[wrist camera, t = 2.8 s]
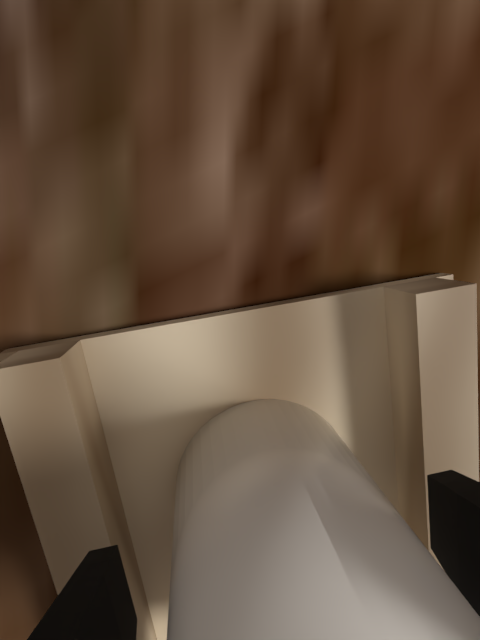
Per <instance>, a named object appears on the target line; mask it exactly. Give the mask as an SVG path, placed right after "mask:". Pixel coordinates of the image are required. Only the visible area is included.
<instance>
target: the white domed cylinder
mask: <svg viewBox="0 0 480 640" xmlns="http://www.w3.org/2000/svg"><path fill="white" fill-rule="evenodd" d="M167 640H480V617H479V615H478V614H477V613H476V612H475V610H474V609H473V608H472V606H471V605H470V604H469V602H468V601H467V600H466V599H465V597H464V596H463V595H462V593H461V592H460V591H459V590H458V588H457V587H456V586H455V584H454V583H453V582H452V581H451V579H450V578H449V577H448V575H447V574H446V573H445V572H444V570H443V569H442V568H441V566H440V565H439V564H438V562H437V561H436V560H435V559H434V557H433V556H432V555H431V553H430V552H429V551H428V550H427V548H426V547H425V546H424V544H423V543H422V542H421V541H420V539H419V538H418V537H417V535H416V534H415V533H414V532H413V530H412V529H411V528H410V526H409V525H408V524H407V523H406V521H405V520H404V519H403V517H402V516H401V515H400V513H399V512H398V511H397V510H396V508H395V507H394V506H393V504H392V503H391V502H390V501H389V499H388V498H387V497H386V495H385V494H384V493H383V492H382V490H381V489H380V488H379V486H378V485H377V484H376V483H375V481H374V480H373V479H372V477H371V476H370V475H369V474H368V472H367V471H366V470H365V468H364V467H363V466H362V464H361V463H360V462H359V461H358V459H357V458H356V457H355V455H354V454H353V453H352V452H351V450H350V449H349V448H348V446H347V445H346V444H345V443H344V441H343V440H342V439H341V437H340V436H339V435H338V434H337V432H336V431H335V430H334V428H333V427H332V426H331V425H330V424H329V423H328V422H327V421H326V420H325V419H324V418H323V417H322V416H320V415H319V414H318V413H316V412H315V411H313V410H311V409H310V408H308V407H305V406H303V405H301V404H298V403H294V402H291V401H287V400H278V399H261V400H254V401H249V402H245V403H241V404H238V405H236V406H233V407H231V408H228V409H227V410H225V411H223V412H221V413H219V414H218V415H216V416H215V417H213V418H212V419H211V420H209V421H208V422H207V423H206V424H205V425H204V426H202V427H201V428H200V429H199V431H198V432H197V433H196V434H195V435H194V436H193V438H192V439H191V441H190V442H189V444H188V445H187V447H186V449H185V451H184V453H183V455H182V457H181V460H180V463H179V467H178V472H177V478H176V493H175V509H174V526H173V542H172V559H171V575H170V592H169V609H168V625H167Z"/></svg>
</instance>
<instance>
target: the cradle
mask: <svg viewBox="0 0 480 640" xmlns="http://www.w3.org/2000/svg"><path fill="white" fill-rule="evenodd" d="M261 399H278V400H287V401H291V402H294V403H298V404H301V405H303V406H305V407H308V408H310V409H311V410H313V411H315V412H316V413H318V414H319V415H320V416H322V417H323V418H324V419H325V420H326V421H327V422H328V423H329V424H330V425H331V426H332V427H333V428H334V430H335V431H336V432H337V434H338V435H339V436H340V437H341V439H342V440H343V441H344V443H345V444H346V445H347V446H348V448H349V449H350V450H351V452H352V453H353V454H354V455H355V457H356V458H357V459H358V461H359V462H360V463H361V464H362V466H363V467H364V468H365V470H366V471H367V472H368V474H369V475H370V476H371V477H372V479H373V480H374V481H375V483H376V484H377V485H378V486H379V488H380V489H381V490H382V492H383V493H384V494H385V495H386V497H387V498H388V499H389V501H390V502H391V503H392V504H393V506H394V507H395V508H396V510H397V511H398V512H399V513H400V515H401V516H402V517H403V519H404V520H405V521H406V523H407V524H408V525H409V526H410V528H411V529H412V530H413V532H414V533H415V534H416V535H417V537H418V538H419V539H420V541H421V542H422V543H423V544H424V546H425V547H426V548H427V550H428V551H429V552H430V553H431V555H432V556H433V557H434V559H435V560H436V561H437V562H438V564H439V565H440V566H441V564H440V563H439V561H438V559H437V558H436V556H435V554H434V553H433V551H432V549H431V545H430V524H429V503H428V482H427V475H430V474H434V473H439V472H443V471H448V470H453V471H456V472H458V473H460V474H463V475H465V476H467V477H469V478H471V479H473V480H476V481H478V482H479V442H478V367H477V292H476V283H470V282H463V281H456V280H453V274H445V273H439V274H433V275H427V276H421V277H416V278H410V279H404V280H398V281H393V282H387V283H381V284H376V285H370V286H364V287H358V288H353V289H347V290H341V291H335V292H330V293H324V294H318V295H313V296H307V297H301V298H295V299H290V300H284V301H278V302H273V303H267V304H261V305H255V306H250V307H244V308H238V309H232V310H227V311H221V312H215V313H210V314H204V315H198V316H192V317H187V318H181V319H175V320H169V321H164V322H158V323H152V324H147V325H141V326H135V327H129V328H124V329H118V330H112V331H106V332H101V333H95V334H89V335H84V336H78V337H72V338H66V339H61V340H55V341H49V342H44V343H38V344H32V345H26V346H21V347H15V348H9V349H6V350H4V351H2V352H1V353H0V417H1V420H2V423H3V426H4V430H5V433H6V436H7V439H8V442H9V445H10V448H11V451H12V455H13V458H14V461H15V464H16V467H17V470H18V473H19V476H20V479H21V483H22V486H23V489H24V492H25V495H26V498H27V501H28V504H29V507H30V511H31V514H32V517H33V520H34V523H35V526H36V529H37V532H38V535H39V539H40V542H41V545H42V548H43V551H44V554H45V557H46V560H47V563H48V567H49V570H50V573H51V576H52V579H53V582H54V585H55V588H56V592H57V595H59V593H60V592H61V591H62V589H63V588H64V586H65V585H66V583H67V582H68V580H69V579H70V577H71V576H72V575H73V573H74V572H75V570H76V569H77V567H78V566H79V564H80V563H81V562H82V560H83V559H84V557H85V556H86V555H87V553H88V552H89V551H91V550H96V549H100V548H105V547H109V546H113V545H118V548H119V552H120V556H121V560H122V563H123V567H124V571H125V575H126V578H127V582H128V586H129V589H130V593H131V597H132V601H133V604H134V608H135V612H136V616H137V634H136V640H167V625H168V609H169V592H170V575H171V559H172V542H173V526H174V509H175V493H176V478H177V472H178V467H179V463H180V460H181V457H182V455H183V453H184V451H185V449H186V447H187V445H188V444H189V442H190V441H191V439H192V438H193V436H194V435H195V434H196V433H197V432H198V431H199V429H200V428H201V427H202V426H204V425H205V424H206V423H207V422H208V421H209V420H211V419H212V418H213V417H215V416H216V415H218V414H219V413H221V412H223V411H225V410H227V409H228V408H231V407H233V406H236V405H238V404H241V403H245V402H249V401H254V400H261ZM441 568H442V566H441ZM442 569H443V568H442ZM443 570H444V569H443ZM444 572H445V571H444Z"/></svg>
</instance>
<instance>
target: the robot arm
mask: <svg viewBox="0 0 480 640" xmlns="http://www.w3.org/2000/svg"><path fill="white" fill-rule="evenodd" d="M427 482H428V503H429V524H430V545H431V549H432V551H433V553H434V554H435V556H436V558H437V559H438V561H439V563H440V564H441V566H442V568H443V569H444V571H445V573H446V574H447V575H448V577H449V578H450V579H451V581H452V582H453V583H454V584H455V586H456V587H457V588H458V590H459V591H460V592H461V593H462V595H463V596H464V597H465V599H466V600H467V601H468V602H469V604H470V605H471V606H472V608H473V609H474V610H475V612H476V613H477V614H478V615H479V617H480V482H478V481H476V480H473V479H471V478H469V477H467V476H465V475H463V474H460V473H458V472H456V471H453V470H448V471H443V472H439V473H434V474H430V475H427ZM136 634H137V616H136V612H135V608H134V604H133V601H132V597H131V593H130V589H129V586H128V582H127V578H126V575H125V571H124V567H123V563H122V560H121V556H120V552H119V548H118V545H113V546H109V547H105V548H100V549H96V550H91V551H89V552H88V553H87V555H86V556H85V557H84V559H83V560H82V562H81V563H80V564H79V566H78V567H77V569H76V570H75V572H74V573H73V575H72V576H71V577H70V579H69V580H68V582H67V583H66V585H65V586H64V588H63V589H62V591H61V592H60V593H59V595H58V596H57V598H56V599H55V601H54V602H53V604H52V605H51V606H50V608H49V609H48V611H47V612H46V614H45V615H44V616H43V618H42V619H41V621H40V622H39V624H38V625H37V626H36V628H35V629H34V631H33V632H32V633H31V635H30V636H29V638H28V639H27V640H136Z"/></svg>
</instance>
